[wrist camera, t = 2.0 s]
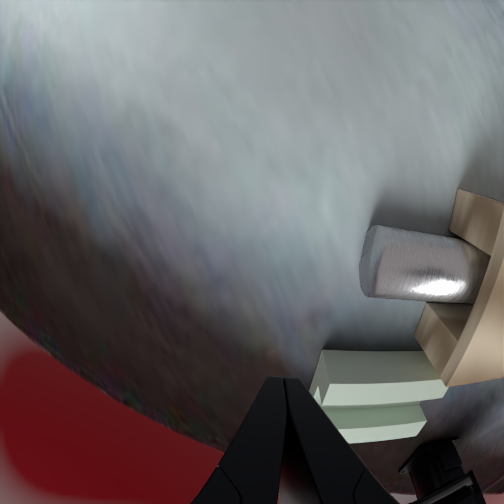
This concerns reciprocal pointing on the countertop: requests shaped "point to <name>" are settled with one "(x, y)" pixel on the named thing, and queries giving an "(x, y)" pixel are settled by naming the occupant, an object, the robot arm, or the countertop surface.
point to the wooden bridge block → (470, 316)
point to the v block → (375, 392)
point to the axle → (420, 266)
